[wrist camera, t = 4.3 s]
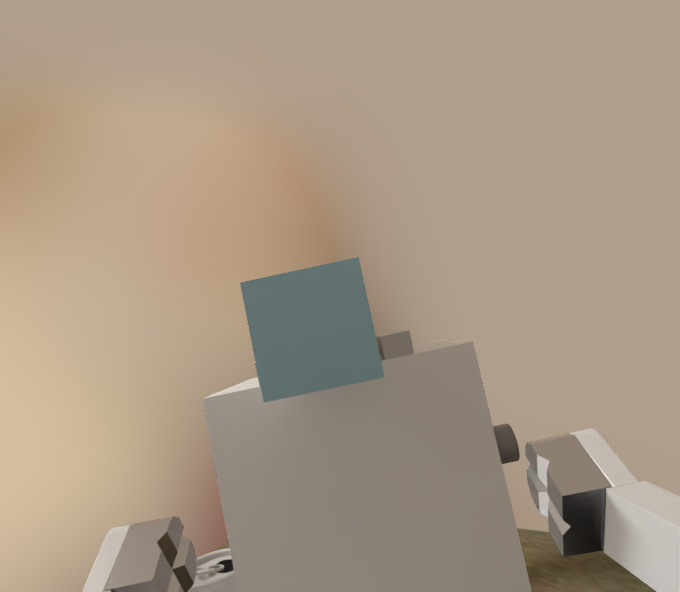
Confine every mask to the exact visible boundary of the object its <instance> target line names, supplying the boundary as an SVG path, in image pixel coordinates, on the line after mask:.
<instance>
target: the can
mask: <svg viewBox="0 0 680 592" xmlns="http://www.w3.org/2000/svg"><path fill="white" fill-rule="evenodd" d="M188 592H238V590H237V585H236V579H235V574H234V569H233V563H232V558H231V552H230V548H227V549H222V550H218V551H214V552H211V553H208V554H206V555H203V556H201V557H199V558H197V559H196V576H195V581H194V584H193V586H192V587H191V588H190V589H189V591H188Z"/></svg>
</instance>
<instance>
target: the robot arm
mask: <svg viewBox="0 0 680 592" xmlns="http://www.w3.org/2000/svg"><path fill="white" fill-rule="evenodd" d="M525 451H526V457H527V459H528V461H529V462H530V464H531V465H530V466H529V468H528V469H527V480H528V484H529V489H530V492H531V495H532V498H533V500H534V503H535V505H536V507H537V509H538V510H539V512H540V513H541V514H542V515H544V516H546V517H547V518H548V522H549V531H550V533H551V535H552V537H553V539H554V541H555V542H556V544H557V546H558V548H559V550H560V552H561V553H562V555H563V557H566V556H572V555H578V554H584V553H590V552H596V551H601V550H604V553H605V554H607V555H608V556H610V557H611V558H612V559H614V560H615V561H616V562H618V563H619V564H620V565H622V566H623V567H624V568H626V569H627V570H628V571H630V572H631V573H632V574H634V575H635V576H636V577H638V578H639V579H641V580H642V581H643V582H645V583H646V584H647V585H649V586H650V587H651V588H653V589H654V590H655V591H657V592H680V497H679V496H677V495H675V494H673V493H671V492H669V491H667V490H664V489H663V488H660V487H658V486H656V485H654V484H652V483H650V482H648V481H640V482H639V481H638V480H637V479H636V478H635V476H634V475H633V474H632V473H631V471H630V470H629V469H628V468H627V467H626V465H625V464H624V463H623V462H622V461H621V459H620V458H619V457H618V456H617V455H616V453H615V452H614V451H613V450H612V448H611V447H610V446H609V445H608V444H607V442H606V441H605V440H604V439H603V437H602V436H601V435H600V434H599V432H598V431H597V430H595V429H593V428H591V429H586V430H582V431H577V432H573V433H570V434H564V435H559V436H554V437H550V438H545V439H540V440H536V441H531V442H527V443H526V447H525ZM183 528H184V526H183V524H182V523H181V520H180V519H179V517H169V518H163V519H158V520H152V521H147V522H141V523H136V524H132V525H127V526H121V527H116V528H112V529H111V530H110V531H109V532H108V533H107V535H106V537H105V539H104V541H103V544H102V546H101V548H100V551H99V553H98V556H97V558H96V560H95V563H94V565H93V567H92V570H91V572H90V574H89V577H88V579H87V581H86V584H85V586H84V589H83V591H82V592H188V591H189V589H190V588H191V587H192V586H193V584H194V581H195V576H196V553H195V549H194V546H193V544H192V542H191V540H190V539H188V538H186V537H184V536H182V532H183Z"/></svg>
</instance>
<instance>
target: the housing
mask: <svg viewBox="0 0 680 592" xmlns="http://www.w3.org/2000/svg"><path fill="white" fill-rule="evenodd" d="M376 340H377V345H378V349H379V354H380V359H381V363H382V368H383V372H384V377H383V378H379V379H374V380H369V381H365V382H360V383H355V384H350V385H346V386H341V387H336V388H331V389H327V390H322V391H317V392H312V393H308V394H303V395H298V396H293V397H289V398H284V399H279V400H274V401H270V402H265V403H264V402H263V397H262V392H261V386H260V381H259V376H258V371H257V366H256V371H257V376H258V377H256V378H252V379H250V380H248V381H245V382H243V383H240V384H237V385H235V386H232V387H230V388H228V389H225V390H223V391H220V392H218V393H215V394H213V395H210V396H208V397H205V398H203V399H202V401H203V406H204V412H205V417H206V422H207V428H208V433H209V438H210V444H211V449H212V455H213V460H214V466H215V471H216V477H217V482H218V487H219V493H220V498H221V503H222V509H223V514H224V520H225V525H226V530H227V536H228V541H229V547H230V552H231V558H232V563H233V569H234V574H235V579H236V585H237V590H238V592H532V591H531V587H530V583H529V578H528V574H527V570H526V566H525V561H524V557H523V553H522V548H521V544H520V540H519V536H518V531H517V527H516V523H515V519H514V514H513V510H512V506H511V502H510V497H509V493H508V489H507V485H506V481H505V476H504V472H503V468H502V464H504V463H509V462H513V461H518V460H519V448H518V444H517V440H516V438H515V435H514V433H513V430H512V428H511V427H510V425H509V424H503V425H498V426H493V425H492V421H491V416H490V412H489V408H488V404H487V399H486V395H485V391H484V387H483V382H482V378H481V374H480V370H479V365H478V361H477V357H476V353H475V349H474V345H473V341H454V340H431V341H426V342H421V343H417V344H412V342H411V337H410V333H409V331H399V332H391V333H387V334H382V335H377V336H376ZM255 365H256V363H255Z"/></svg>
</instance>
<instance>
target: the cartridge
mask: <svg viewBox="0 0 680 592" xmlns="http://www.w3.org/2000/svg"><path fill="white" fill-rule="evenodd" d="M240 284H241V289H242V294H243V300H244V304H245V310H246V315H247V320H248V325H249V330H250V335H251V340H252V345H253V351H254V356H255V361H256V366H257V371H258V376H259V381H260V386H261V392H262V397H263V402H264V403H265V402H270V401H274V400H279V399H284V398H289V397H293V396H298V395H303V394H308V393H312V392H317V391H322V390H327V389H331V388H336V387H341V386H346V385H350V384H355V383H360V382H365V381H369V380H374V379H379V378H383V377H384V372H383V368H382V363H381V359H380V354H379V349H378V345H377V340H376V336H375V331H374V326H373V322H372V317H371V313H370V308H369V304H368V299H367V294H366V290H365V285H364V281H363V276H362V272H361V267H360V262H359V258H358V257H357V258H352V259H348V260H343V261H339V262H334V263H330V264H325V265H320V266H315V267H311V268H307V269H302V270H297V271H292V272H288V273H284V274H278V275H274V276H269V277H265V278H260V279H256V280H251V281H246V282H242V283H240Z"/></svg>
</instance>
